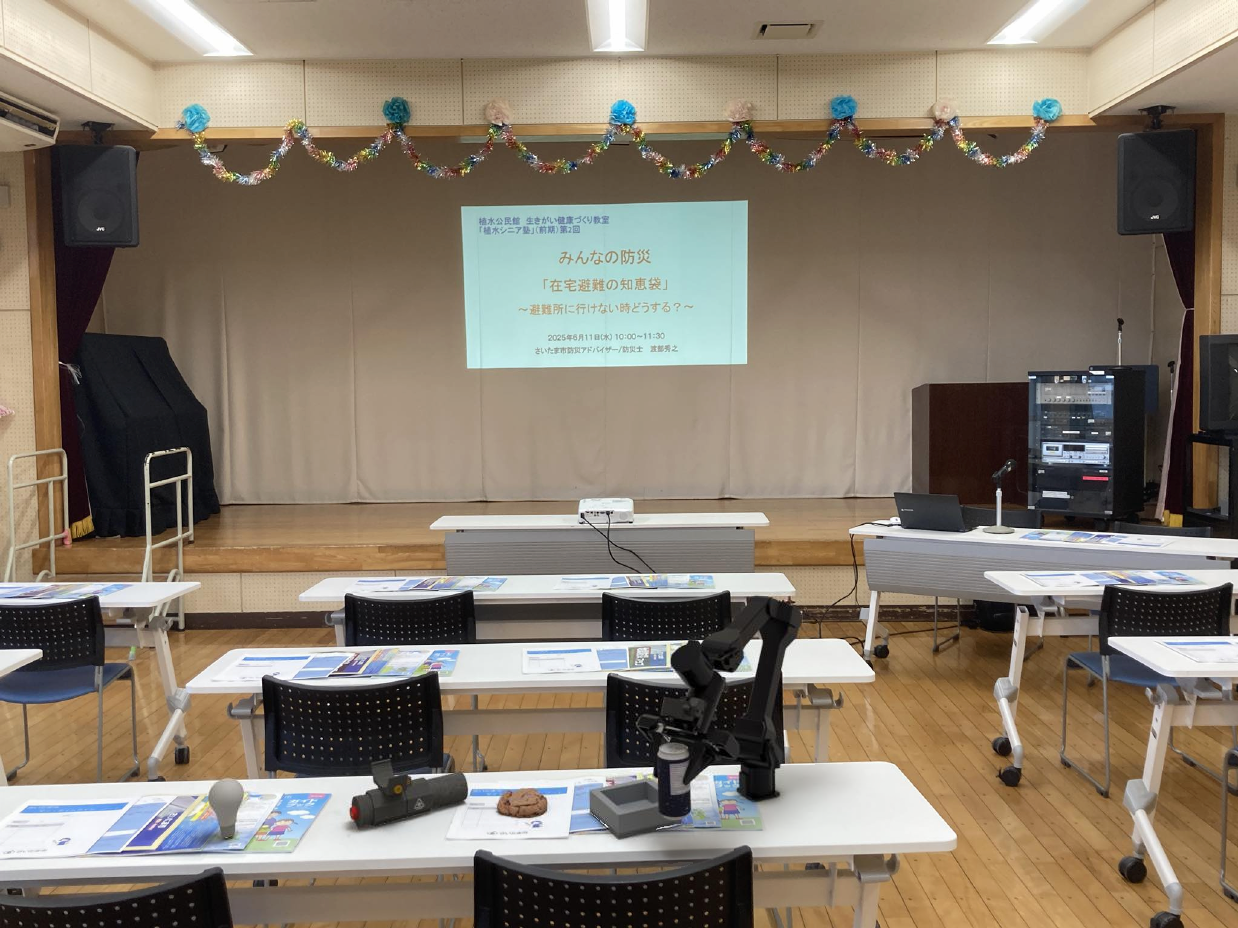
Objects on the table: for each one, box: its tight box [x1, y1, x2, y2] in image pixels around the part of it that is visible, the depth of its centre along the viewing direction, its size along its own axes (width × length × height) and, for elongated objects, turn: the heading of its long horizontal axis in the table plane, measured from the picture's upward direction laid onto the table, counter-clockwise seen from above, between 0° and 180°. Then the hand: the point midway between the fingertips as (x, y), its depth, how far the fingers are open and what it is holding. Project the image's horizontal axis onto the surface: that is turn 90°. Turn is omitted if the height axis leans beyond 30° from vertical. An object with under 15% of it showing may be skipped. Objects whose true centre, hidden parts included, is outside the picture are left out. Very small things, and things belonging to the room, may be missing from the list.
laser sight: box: [349, 758, 469, 829], centre depth 187 cm, size 10×22×10 cm, turn 123°
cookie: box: [496, 787, 549, 819], centre depth 189 cm, size 10×11×3 cm
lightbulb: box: [207, 777, 245, 838], centre depth 178 cm, size 6×6×11 cm
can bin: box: [589, 777, 683, 840], centre depth 183 cm, size 13×13×4 cm
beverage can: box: [657, 742, 692, 820], centre depth 168 cm, size 6×6×12 cm
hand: (669, 780), depth 167 cm, fingers closed on beverage can, 6 cm apart
